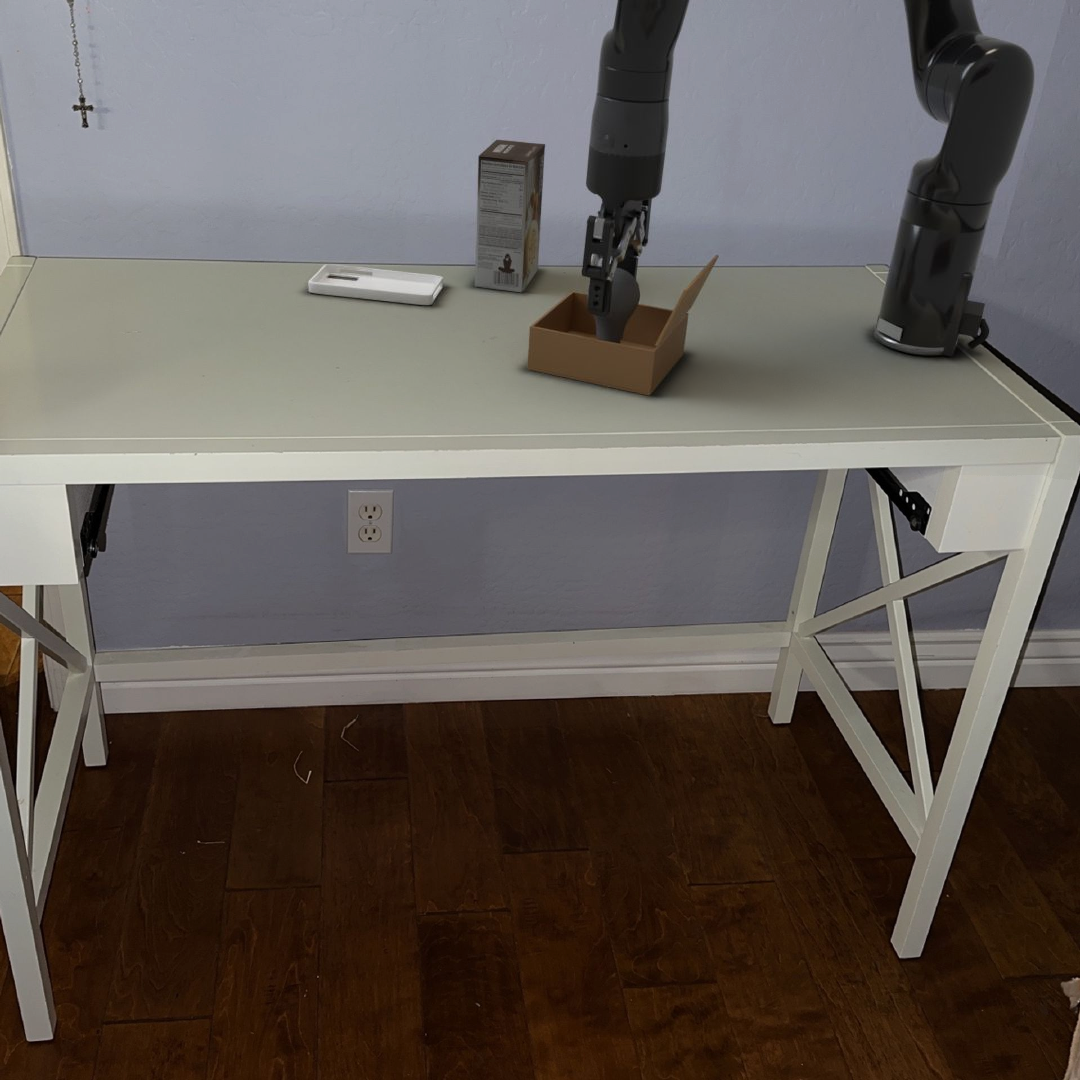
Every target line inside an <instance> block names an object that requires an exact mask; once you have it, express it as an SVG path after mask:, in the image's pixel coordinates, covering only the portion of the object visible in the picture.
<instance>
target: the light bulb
mask: <svg viewBox="0 0 1080 1080" xmlns="http://www.w3.org/2000/svg"><path fill="white" fill-rule="evenodd" d="M589 285H590V283H589V284H588V288H587V291H586V292H587V293H586V294H587V298H588V295H589ZM640 301H641V289H640V286H639V282H638V281H637V278H636V279H635V278H634V277H633V276H632V275H631V274H630V273H629V272H627V271H625V270H623V269H620V268H616V270H615V274H614V278H613V284H612V294H611V303H610V312H609V313H608V314H607V315H606V316H598V315H594V318H595V321H596V328H597V333H596V335H597V338H598V339H599V340H603V341H608V342H613V343H618V344H620V341H621V340H622V338H623V334H624V329H625V326H626V324H627V322H628V320H629V318H630V317H631V316H632V314H633V313H634V311H635V310H636V308H637V306H638V304H640Z"/></svg>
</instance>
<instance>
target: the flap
mask: <svg viewBox="0 0 1080 1080" xmlns="http://www.w3.org/2000/svg"><path fill="white" fill-rule="evenodd" d="M719 257H720V255H718V254H716V255H715V256H714V257H713V258H712V259H711V260H710V261H709V262H708V263H707V264H706V265H705V266H704V268H702V269H701V271H700V272H699V273H698V274H697V275H696V276H695V277H694V278H693V279H692V280H691V281H690V283H689V284H688V285H687V286H686V287H685V288H684V289H683V291H682V293H681V295H680V296H679V299H678V300H677V302H676V304H675V306H674V308H673V309H672V310H673V312H672V314H671V316H670V318H669V320H668V321H667V323H666V325H665V327H664V329H663V331H662V333H661V335H660V337H659V338H658V340H657V342H656V344H655V346H657V347H658V345H659V344H660V343H661V342H662V341H663V340H664V339H665V337H666V336H667V335H668V334H669V333H670V332H671V331H672V329H673V328H674V327H675V326H676V325H677V324H678V323H679V321H680V320H681V319H682V318H683V317H684V316H685V314H686V313H689V311H690V310H691V309H692V307H693V306H694V303H695V302H696V299H697V298H698V296H699V294H700V292H701V290H702V288H703V287H704V285H705V283H706V281H707V279H708V277H709V276H710V274H711V272H712V270H713V268H714V266H715V265H716V263H717V261H718V259H719Z"/></svg>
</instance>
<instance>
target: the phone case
mask: <svg viewBox="0 0 1080 1080" xmlns="http://www.w3.org/2000/svg"><path fill="white" fill-rule="evenodd" d="M341 270H347V271H348V270H349V271H358V272H367V273H371V274H366V273H365V274H363V273H353V272H344V271H341ZM330 276H331V277H339V278H331V277H330ZM340 277H341V279H340ZM342 278H347V279H342ZM348 278H349V279H357V280H349V279H348ZM307 284H308V286H307V287H308V292H309V293H311V294H316V295H317V294H318V295H319V294H320V295H327V296H336V297H345V298H355V299H364V300H374V301H384V302H391V303H401V304H410V305H420V306H431V305H433V303H434V301H435V300H436V299H437V297H438V295H439V294H440V292H442V289H443V288H444V277H443V276H441V275H437V274H429V273H428V274H427V273H417V272H409V271H400V270H389V269H380V268H372V267H371V268H370V267H361V266H352V265H342V264H334V263H326V264H323V266H321V268H319V269H318V271H317V272H316V273H315V274H314V275H313V276H312V277H311V278H310V279H309V280H308V281H307Z"/></svg>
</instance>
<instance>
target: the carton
mask: <svg viewBox="0 0 1080 1080" xmlns="http://www.w3.org/2000/svg"><path fill="white" fill-rule="evenodd" d="M587 306H588V298H587V293H585V292H582V291H575V290H571V291H570V292H569V293H568V294H567V295H565V296H564V297H562V299H560V300H559V301H557V303H556V304H555V305H553V306H552V307H551V308H550V309H549V310H548V311H547V312H545V313H544V314H543V315H542V316H540V317H539V318H538V319H537V320H536V321H534V322H533V323H532V324H531V325H530V326H529V333H528V334H529V335H528V350H527V351H528V352H527V366H526V367H527V368H526V369H527V370H529V371H533V372H538V373H543V374H547V375H552V376H556V377H557V376H558V377H561V378H566V379H569V380H570V379H571V380H575V381H579V382H585V383H589V384H594V385H598V386H603V387H608V388H612V389H618V390H622V391H626V392H630V393H635V394H639V395H645V396H651V395H652V394H653V393H654V391H655V390H656V389H657V388H658V386H659V385H660V384H661V383H662V381H663V380H664V379H665V377H666V376H667V375H668V374H669V373H670V371H671V370H672V369H673V368H674V367H675V365H676V364H677V363H678V362H679V360H680V359H681V358H682V357H683V355H684V351H685V343H686V338H687V337H686V336H687V329H688V322H689V312H687V313H686V314H685V316H684V317H683V318H682V319H681V320H680V321H679V323H678V324H677V325H676V326H675V327H674V328H673V329H672V331H671V332H670V333H669V334H668V335H667V336H666V337H665V339H664V340H663V341H662V342H661V343H660V344H659V345H658V347H657V346H655V344H656V342H657V340H658V338H659V337H660V335H661V333H662V331H663V329H664V327H665V325H666V323H667V321H668V320H669V318H670V316H671V314H672V312H673V310H674V309H669V308H664V307H659V306H653V305H649V304H643V303H638V306H637V308H636V310H635V311H634V313H633V314H632V316H631V317H630V318H629V320H628V322H627V324H626V326H625V329H624V334H623V338H622V340H621V341H620V344H618V343H613V342H608V341H603V340H599V339H598V338H597V335H596V333H597V328H596V321H595V318H594V315H593V314H590V313H589V312H588V310H587Z"/></svg>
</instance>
